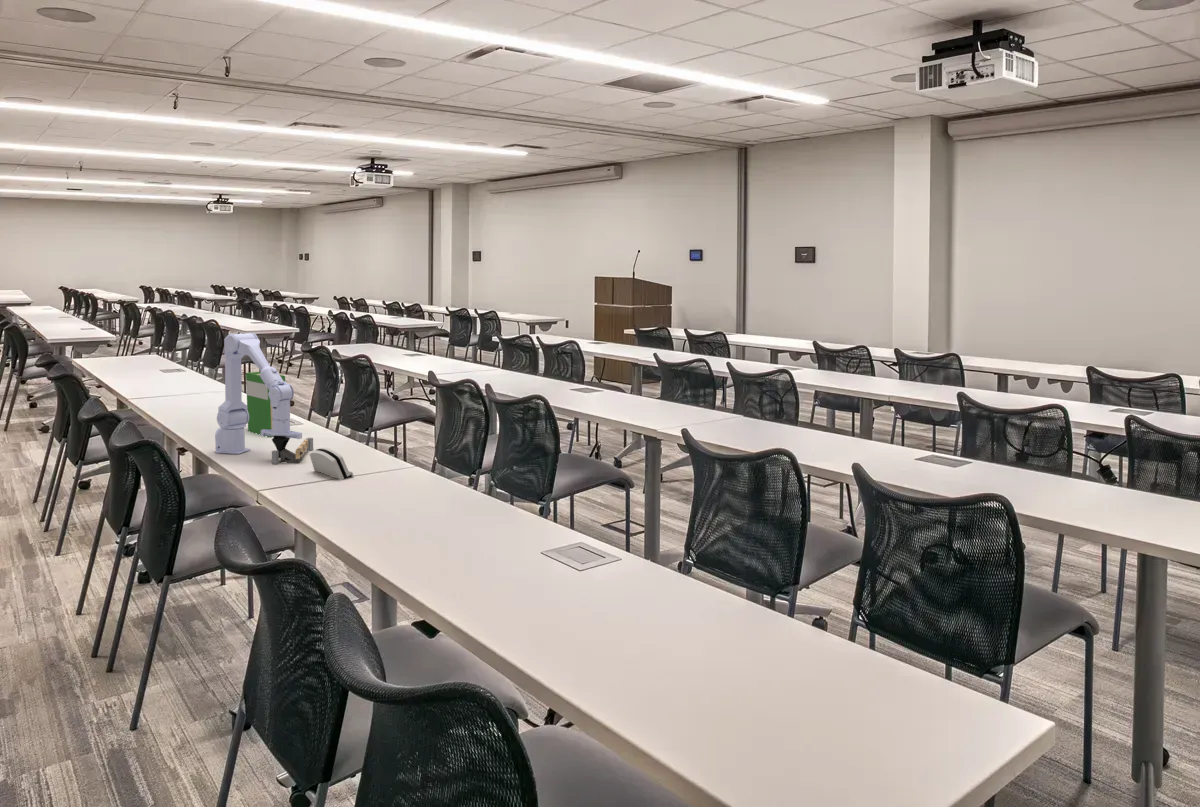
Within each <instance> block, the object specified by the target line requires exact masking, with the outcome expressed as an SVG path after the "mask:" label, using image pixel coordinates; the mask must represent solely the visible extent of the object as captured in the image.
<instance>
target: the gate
mask: <svg viewBox="0 0 1200 807" xmlns="http://www.w3.org/2000/svg"><path fill="white" fill-rule="evenodd" d="M307 448H308V439H306V438H305V439H304V440H303V441H302V442H301V443H300V444H299V446H298V447H297V448H296V449H295V451H294V453H295V454H296V459H300V457H303V455H304V453H305V452H307V451H306V450H307Z"/></svg>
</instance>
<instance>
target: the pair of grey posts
mask: <svg viewBox="0 0 1200 807" xmlns="http://www.w3.org/2000/svg"><path fill="white" fill-rule="evenodd" d="M305 439H308V448H307V450H311V451H314V438H313V437H307V438H305ZM278 463H280V458H279V452H278V451H277V449H275V450H272V451H271V464H272V465H278Z"/></svg>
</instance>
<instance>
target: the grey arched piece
mask: <svg viewBox="0 0 1200 807" xmlns="http://www.w3.org/2000/svg"><path fill="white" fill-rule="evenodd" d="M309 457H310V461H311V464H312V467H313V470H315V471H314V472H316V471H318V472H317V473H319V472H321V473H320V474H322V473H324V474H323V475H325V474H327V475H326V476H328V475H330V476H329V477H331V476H333V477H332V478H334V477H336V478H335V479H337V478H338V479H337V480H340V479H341V480H343V479H345V477H350V476H351V477H350V478H354V477H355V475H354V473H353V472H352V471H349V469H348V466H347V464H346V462H345V460H344V457H343V456H342V455H341V454H340V453H338V452H337V451H335V450H334V449H331V448H328V447H319V448H317V449H315V450H312V451H310V453H309Z"/></svg>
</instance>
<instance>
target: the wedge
mask: <svg viewBox="0 0 1200 807" xmlns="http://www.w3.org/2000/svg"><path fill="white" fill-rule="evenodd" d="M279 454H280V458H279V463H281V462H287V463H286V464H299V463H301V462H302V461H304V458H303V456H301V457H300V459H296V452H293V451H291V450H289V449H287V448H285V449H284V450H282V451H280V453H279ZM300 461H301V462H300Z"/></svg>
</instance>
